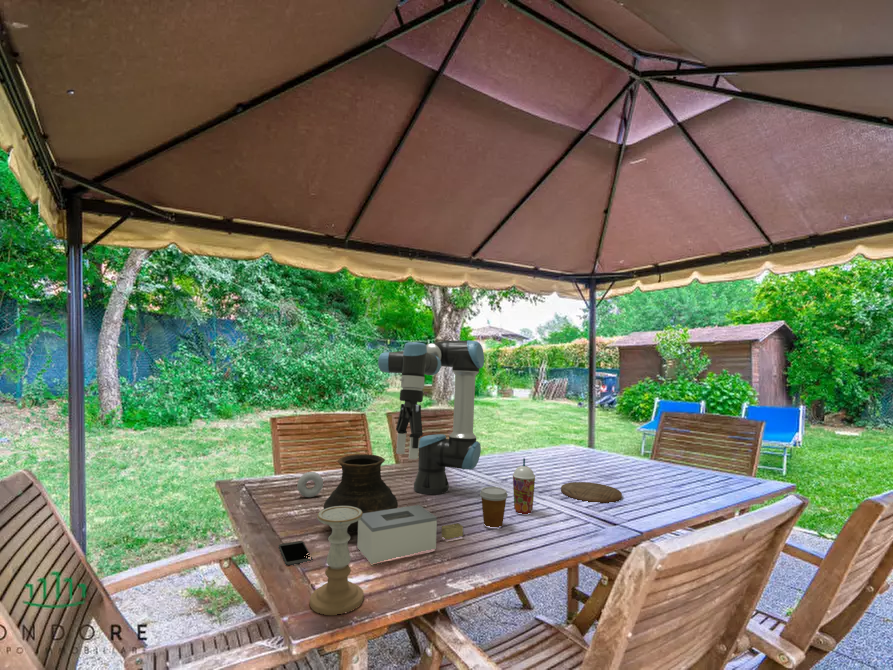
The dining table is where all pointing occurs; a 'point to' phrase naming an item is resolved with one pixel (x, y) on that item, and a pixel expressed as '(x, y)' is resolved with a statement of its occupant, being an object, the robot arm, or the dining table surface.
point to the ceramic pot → (362, 486)
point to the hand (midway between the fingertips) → (406, 456)
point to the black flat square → (294, 552)
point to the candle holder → (338, 565)
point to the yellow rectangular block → (452, 531)
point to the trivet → (591, 492)
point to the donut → (305, 478)
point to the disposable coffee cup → (493, 505)
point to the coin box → (396, 533)
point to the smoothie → (523, 489)
